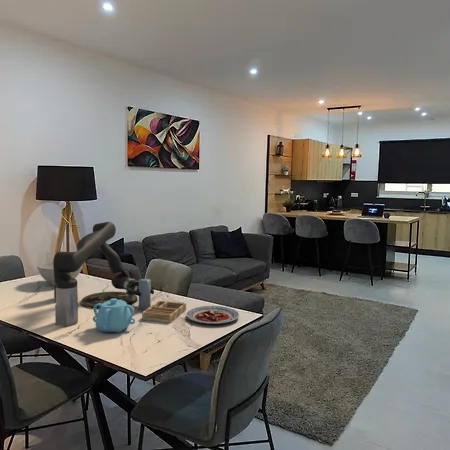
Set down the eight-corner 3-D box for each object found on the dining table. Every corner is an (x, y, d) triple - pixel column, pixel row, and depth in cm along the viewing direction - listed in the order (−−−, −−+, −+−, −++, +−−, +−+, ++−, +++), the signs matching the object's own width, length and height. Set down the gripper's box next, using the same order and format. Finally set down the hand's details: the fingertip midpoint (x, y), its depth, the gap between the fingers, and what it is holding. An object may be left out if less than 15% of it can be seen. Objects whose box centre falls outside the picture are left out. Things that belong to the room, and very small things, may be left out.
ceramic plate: (217, 331, 182) (217, 325, 182) (175, 319, 198) (175, 313, 198) (249, 317, 203) (249, 311, 203) (209, 306, 218) (209, 301, 218)
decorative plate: (127, 307, 208) (70, 304, 211) (127, 311, 209) (70, 308, 211) (144, 292, 238) (94, 290, 241) (144, 295, 238) (94, 293, 241)
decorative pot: (91, 326, 186) (90, 297, 184) (125, 320, 194) (125, 292, 193) (100, 338, 172) (100, 306, 171) (137, 331, 180) (137, 301, 179)
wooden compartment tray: (171, 322, 192) (171, 315, 192) (142, 319, 196) (142, 312, 195) (186, 310, 211) (186, 303, 211) (159, 307, 215) (159, 300, 215)
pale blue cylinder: (147, 310, 209) (147, 281, 208) (136, 309, 211) (136, 280, 209) (152, 307, 215) (152, 279, 213) (142, 306, 216) (142, 278, 215)
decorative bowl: (74, 276, 279) (74, 259, 278) (89, 284, 258) (89, 265, 257) (32, 282, 262) (31, 263, 261) (45, 291, 241) (44, 271, 240)
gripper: (120, 281, 219) (133, 288, 205) (144, 278, 227) (159, 284, 214) (120, 295, 219) (133, 302, 206) (145, 291, 228) (159, 298, 215)
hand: (146, 293), depth 210 cm, fingers open, 7 cm apart
